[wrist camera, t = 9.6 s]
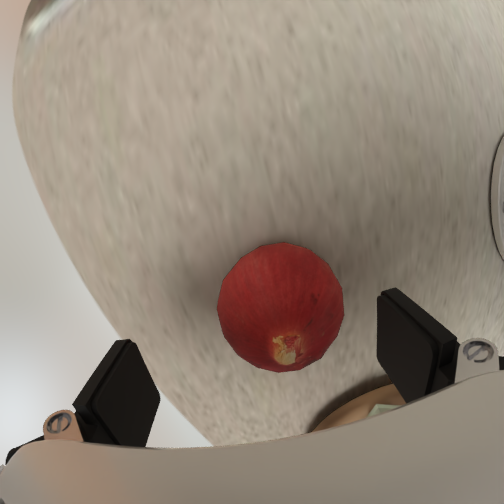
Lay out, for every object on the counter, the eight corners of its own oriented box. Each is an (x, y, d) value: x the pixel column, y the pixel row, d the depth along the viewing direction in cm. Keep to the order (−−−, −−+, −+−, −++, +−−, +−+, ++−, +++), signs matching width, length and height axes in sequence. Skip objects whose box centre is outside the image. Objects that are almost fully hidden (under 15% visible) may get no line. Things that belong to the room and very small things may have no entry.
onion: (339, 293, 17) (391, 374, 9) (259, 337, 18) (260, 434, 10) (294, 211, 16) (331, 245, 8) (207, 263, 16) (169, 336, 9)
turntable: (353, 371, 17) (392, 464, 9) (464, 384, 18) (506, 439, 10) (281, 469, 20) (286, 540, 12) (389, 469, 21) (408, 522, 13)
